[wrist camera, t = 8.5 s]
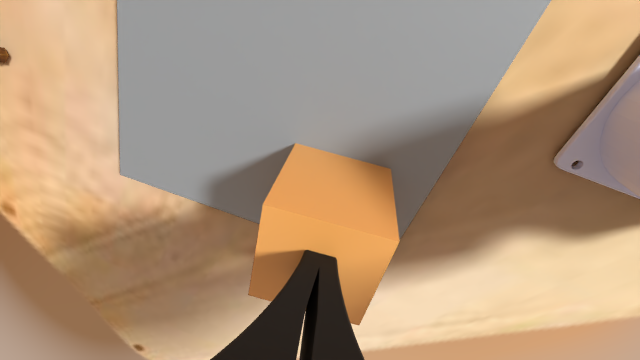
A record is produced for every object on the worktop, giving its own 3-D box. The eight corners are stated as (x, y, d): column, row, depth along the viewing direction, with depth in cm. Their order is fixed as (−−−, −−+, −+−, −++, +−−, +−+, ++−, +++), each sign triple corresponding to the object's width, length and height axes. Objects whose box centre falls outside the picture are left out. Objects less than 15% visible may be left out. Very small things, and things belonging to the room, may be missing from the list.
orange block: (391, 168, 17) (399, 241, 12) (362, 241, 20) (358, 325, 15) (295, 143, 17) (262, 204, 12) (280, 218, 20) (248, 294, 15)
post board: (570, -51, 12) (695, -83, 8) (381, 256, 21) (384, 328, 17) (131, -231, 12) (-34, -392, 7) (130, 167, 21) (59, 216, 16)
